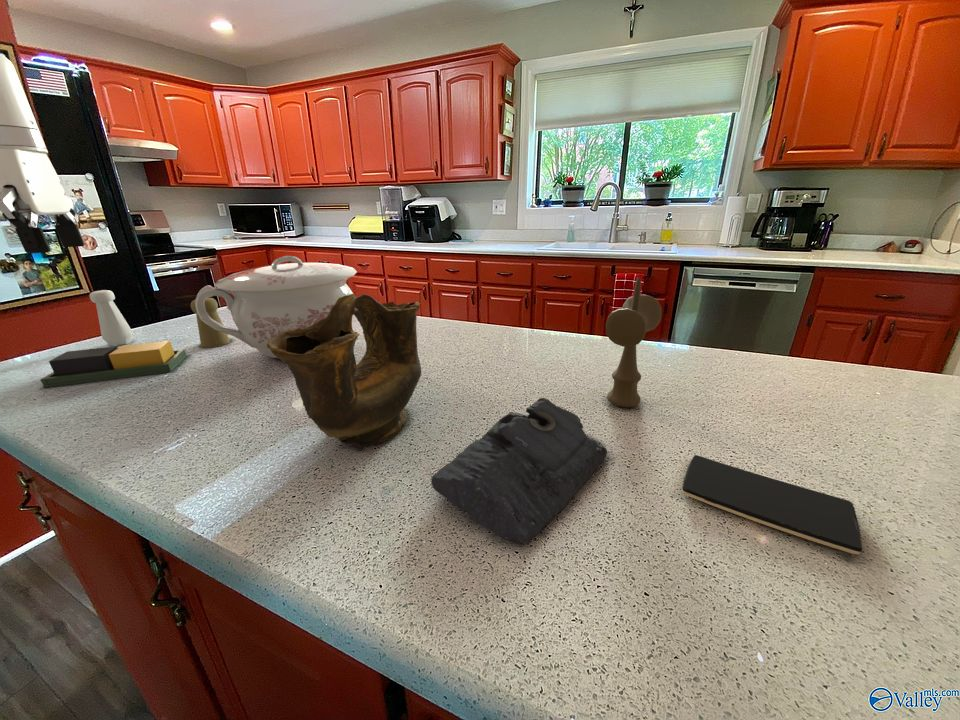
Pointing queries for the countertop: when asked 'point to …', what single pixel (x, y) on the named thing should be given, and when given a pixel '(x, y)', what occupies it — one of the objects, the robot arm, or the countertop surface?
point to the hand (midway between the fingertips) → (57, 249)
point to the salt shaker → (111, 319)
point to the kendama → (630, 343)
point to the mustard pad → (142, 354)
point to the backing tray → (114, 372)
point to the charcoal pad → (83, 361)
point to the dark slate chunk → (521, 471)
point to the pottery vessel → (355, 368)
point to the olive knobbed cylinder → (207, 333)
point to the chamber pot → (276, 299)
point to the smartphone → (775, 503)
